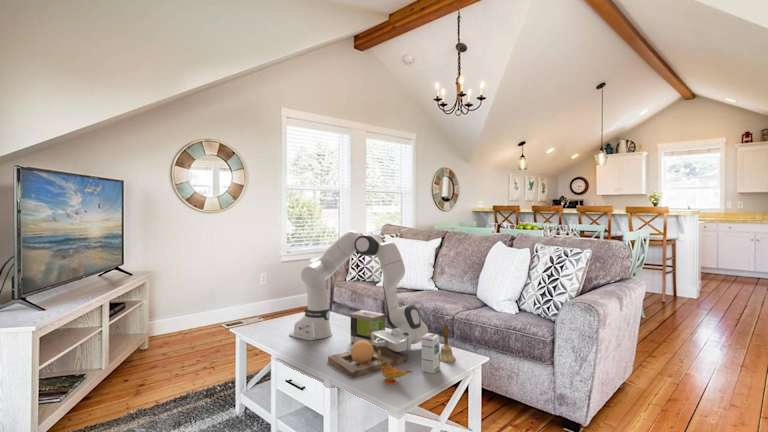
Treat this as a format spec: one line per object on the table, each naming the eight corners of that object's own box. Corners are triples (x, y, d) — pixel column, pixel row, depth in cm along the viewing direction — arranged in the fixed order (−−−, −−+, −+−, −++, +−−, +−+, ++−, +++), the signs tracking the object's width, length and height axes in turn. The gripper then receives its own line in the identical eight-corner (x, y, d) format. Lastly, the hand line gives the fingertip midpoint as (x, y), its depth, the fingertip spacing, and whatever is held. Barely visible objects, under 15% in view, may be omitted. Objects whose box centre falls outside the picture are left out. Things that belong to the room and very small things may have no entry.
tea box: (385, 342, 197) (385, 313, 197) (373, 348, 189) (373, 318, 189) (362, 336, 206) (362, 308, 206) (349, 342, 198) (349, 313, 198)
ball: (376, 349, 177) (364, 369, 173) (358, 336, 178) (345, 356, 174) (379, 347, 168) (367, 369, 164) (360, 334, 169) (347, 355, 165)
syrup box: (434, 374, 161) (434, 338, 160) (421, 370, 164) (421, 336, 163) (439, 369, 165) (440, 334, 165) (427, 366, 169) (427, 332, 168)
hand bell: (444, 364, 171) (444, 327, 170) (433, 357, 178) (433, 322, 178) (459, 360, 175) (459, 324, 174) (448, 354, 182) (448, 319, 182)
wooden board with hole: (379, 348, 189) (379, 343, 189) (406, 361, 173) (406, 356, 173) (328, 362, 173) (328, 356, 173) (352, 378, 157) (352, 372, 156)
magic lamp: (405, 393, 144) (405, 363, 144) (370, 378, 156) (370, 351, 156) (417, 386, 149) (417, 358, 149) (382, 373, 161) (382, 346, 161)
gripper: (385, 325, 191) (361, 330, 182) (413, 336, 174) (388, 343, 166) (385, 338, 191) (361, 344, 183) (412, 350, 174) (388, 358, 166)
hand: (374, 343), depth 174 cm, fingers closed
